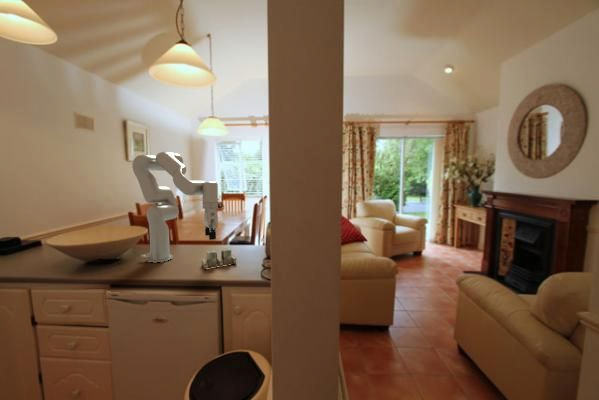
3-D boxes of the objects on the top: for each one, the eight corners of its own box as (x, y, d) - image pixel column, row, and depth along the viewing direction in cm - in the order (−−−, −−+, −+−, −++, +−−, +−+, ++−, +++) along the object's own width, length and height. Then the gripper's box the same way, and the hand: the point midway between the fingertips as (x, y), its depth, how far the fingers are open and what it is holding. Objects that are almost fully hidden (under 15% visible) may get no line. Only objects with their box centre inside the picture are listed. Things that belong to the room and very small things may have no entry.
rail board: (204, 270, 125) (204, 255, 124) (201, 265, 132) (201, 251, 131) (236, 264, 134) (236, 250, 133) (232, 260, 141) (232, 246, 140)
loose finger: (208, 266, 128) (208, 253, 127) (206, 264, 131) (206, 251, 131) (217, 264, 130) (217, 252, 130) (215, 262, 134) (215, 250, 133)
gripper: (221, 207, 122) (221, 240, 124) (213, 203, 137) (213, 233, 139) (206, 207, 118) (206, 242, 120) (199, 203, 133) (199, 234, 135)
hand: (210, 237), depth 129 cm, fingers open, 9 cm apart
